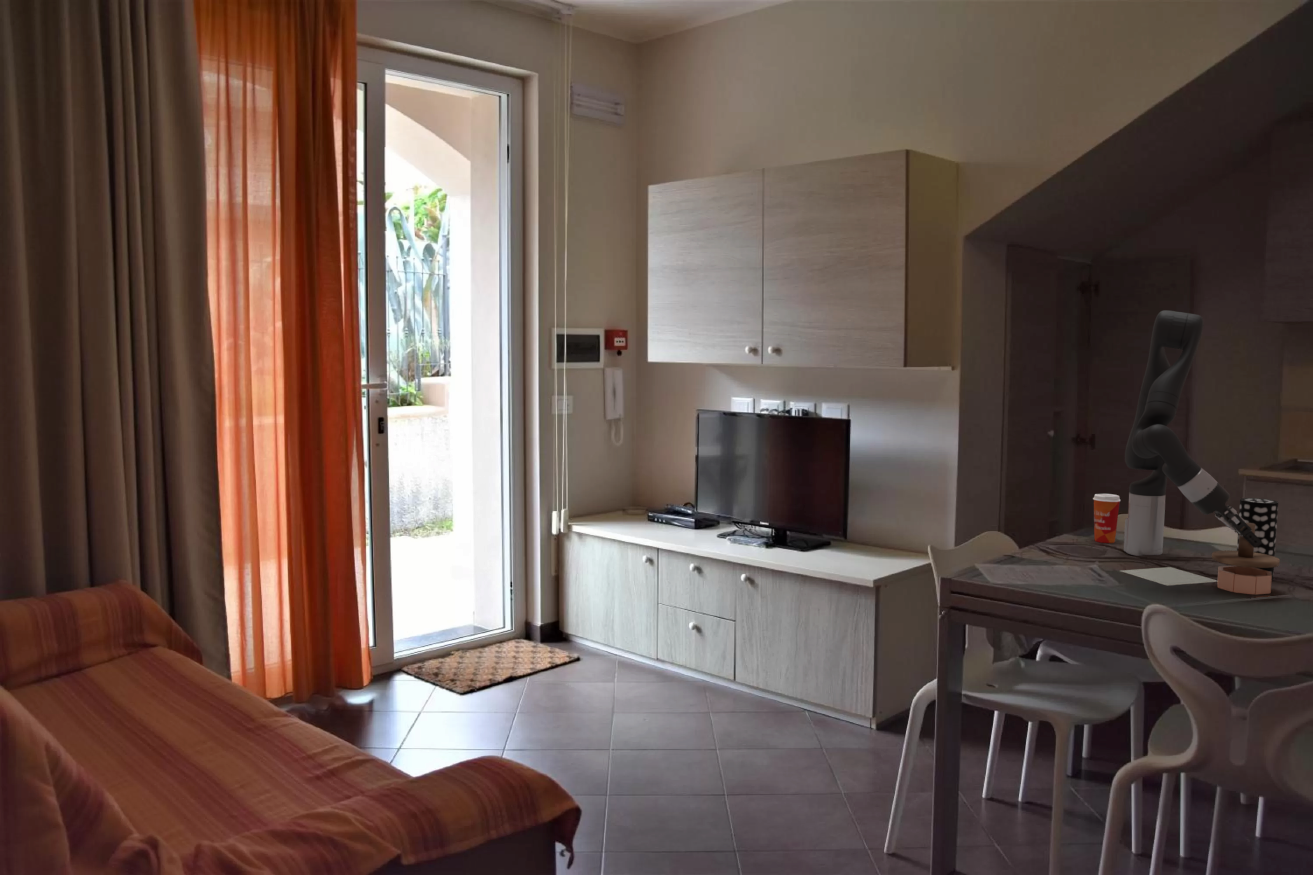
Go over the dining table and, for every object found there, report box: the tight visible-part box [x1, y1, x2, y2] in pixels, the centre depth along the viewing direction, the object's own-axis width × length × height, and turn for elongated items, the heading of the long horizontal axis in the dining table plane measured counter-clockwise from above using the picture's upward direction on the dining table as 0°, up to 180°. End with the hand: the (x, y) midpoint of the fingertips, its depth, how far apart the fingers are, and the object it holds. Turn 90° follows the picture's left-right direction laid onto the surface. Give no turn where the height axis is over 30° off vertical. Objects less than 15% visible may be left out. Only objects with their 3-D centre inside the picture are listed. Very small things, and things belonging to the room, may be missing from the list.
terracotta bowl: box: [1216, 565, 1273, 599], centre depth 241 cm, size 11×11×5 cm
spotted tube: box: [1236, 497, 1279, 581], centre depth 254 cm, size 8×8×20 cm
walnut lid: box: [1211, 522, 1281, 568], centre depth 240 cm, size 14×14×9 cm
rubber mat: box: [1120, 566, 1218, 587], centre depth 254 cm, size 16×16×1 cm
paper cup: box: [1092, 493, 1121, 544], centre depth 300 cm, size 8×8×14 cm
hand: (1255, 543), depth 240 cm, fingers closed on walnut lid, 3 cm apart
